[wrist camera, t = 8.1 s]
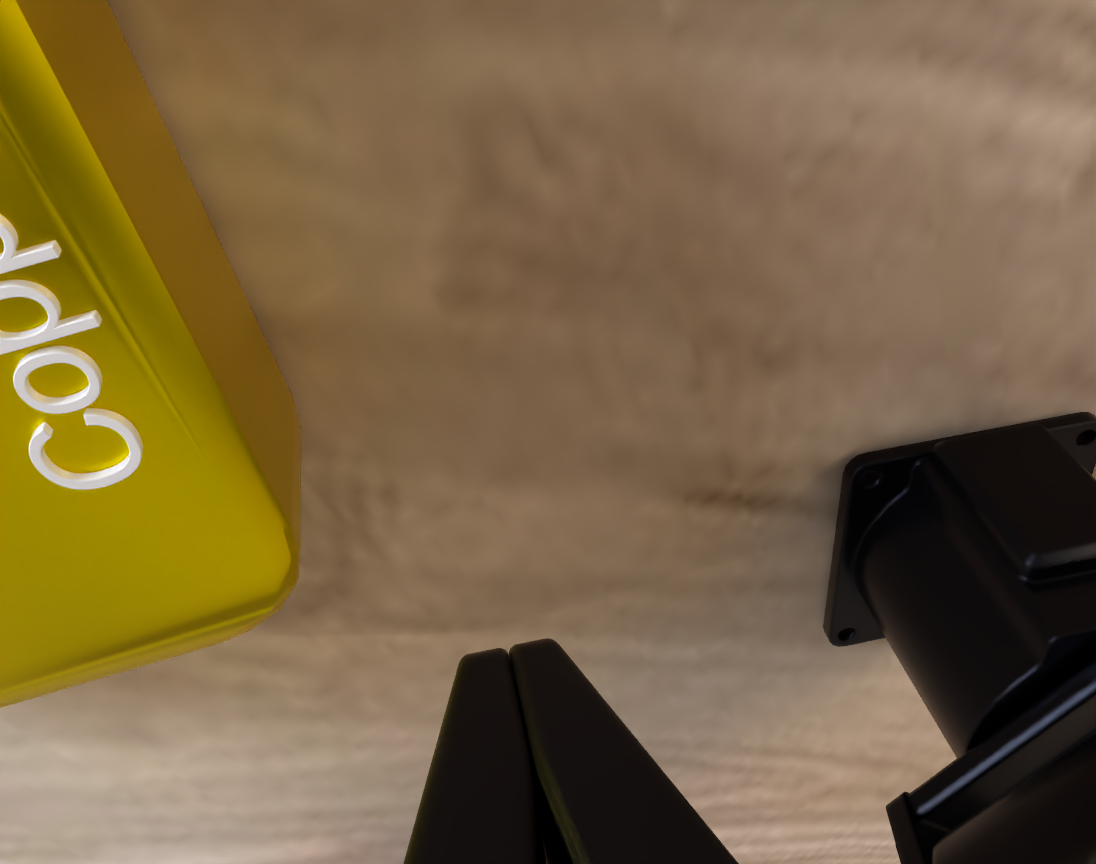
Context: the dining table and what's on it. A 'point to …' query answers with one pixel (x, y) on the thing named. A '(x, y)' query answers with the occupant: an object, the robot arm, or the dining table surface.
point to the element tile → (123, 380)
